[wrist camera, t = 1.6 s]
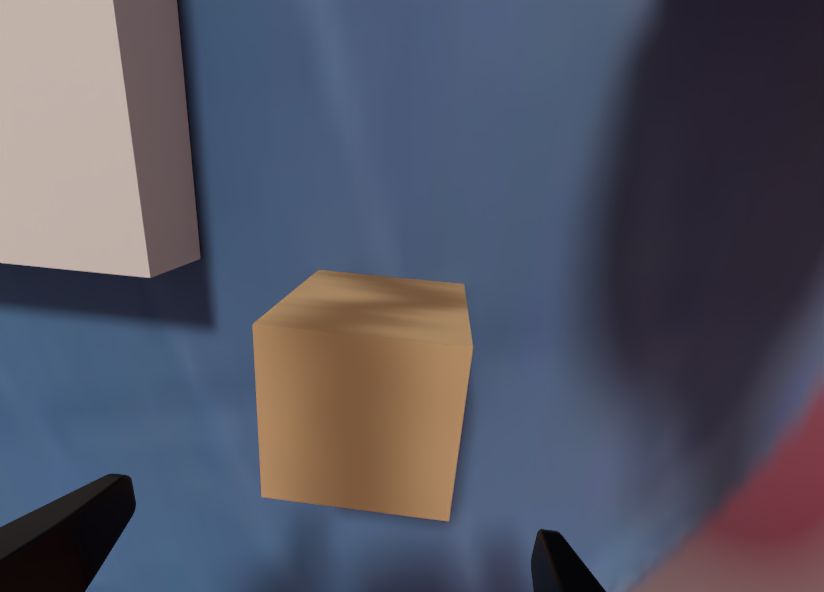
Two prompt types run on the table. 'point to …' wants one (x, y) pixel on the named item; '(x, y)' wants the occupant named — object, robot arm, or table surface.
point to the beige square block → (95, 137)
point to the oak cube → (363, 393)
